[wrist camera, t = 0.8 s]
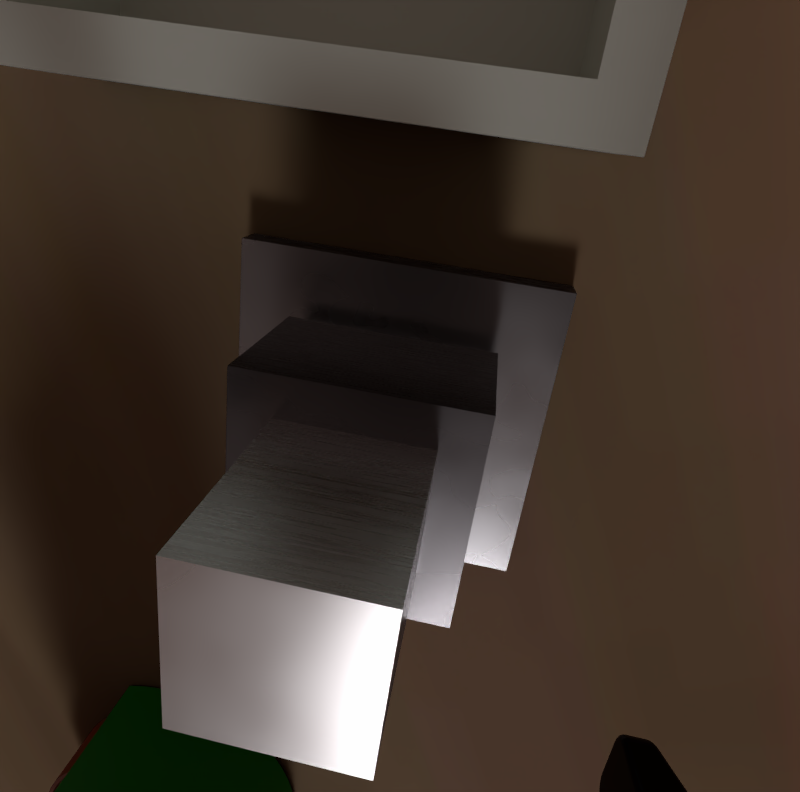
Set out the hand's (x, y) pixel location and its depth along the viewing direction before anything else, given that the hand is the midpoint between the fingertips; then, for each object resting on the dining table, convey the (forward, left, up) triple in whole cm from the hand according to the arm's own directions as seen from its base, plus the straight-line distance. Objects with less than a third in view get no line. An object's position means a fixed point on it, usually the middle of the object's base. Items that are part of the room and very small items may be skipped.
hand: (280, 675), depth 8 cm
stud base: (0, 0, -9) cm, 9 cm away
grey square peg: (0, 0, -8) cm, 8 cm away
